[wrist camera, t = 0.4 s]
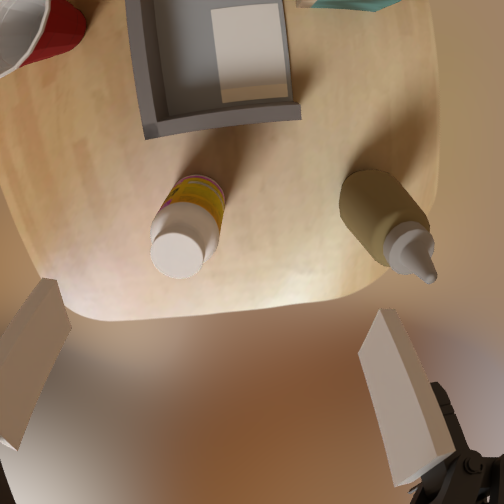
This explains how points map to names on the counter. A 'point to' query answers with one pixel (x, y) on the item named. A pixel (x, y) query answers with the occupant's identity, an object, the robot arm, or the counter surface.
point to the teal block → (346, 4)
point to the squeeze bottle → (388, 223)
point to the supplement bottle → (187, 226)
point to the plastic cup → (37, 31)
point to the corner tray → (209, 64)
